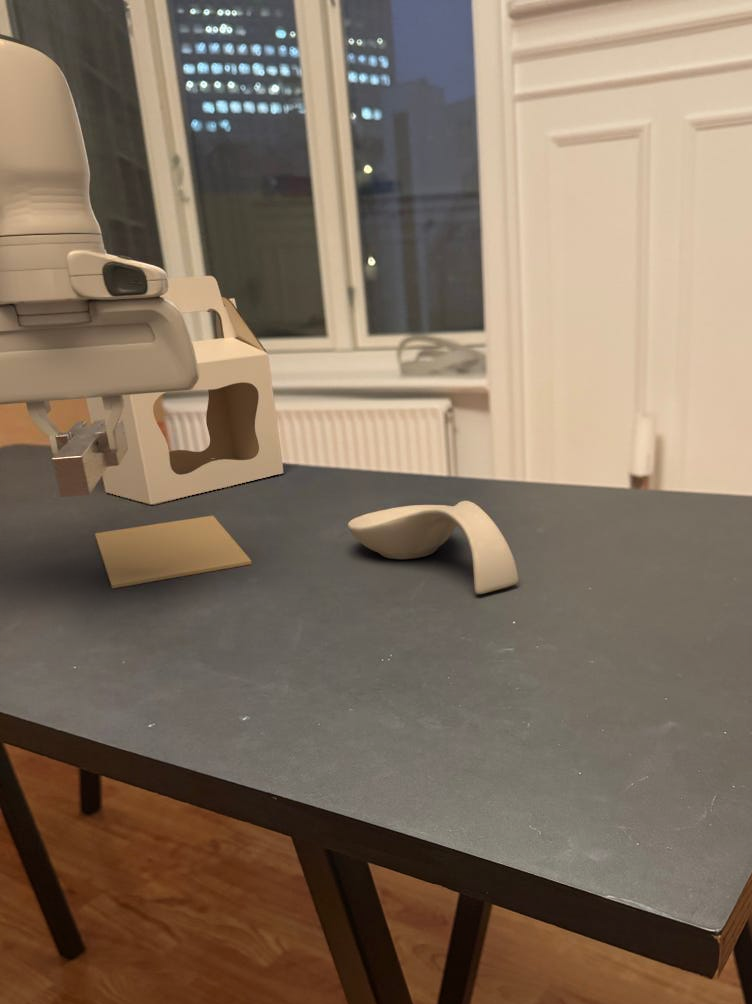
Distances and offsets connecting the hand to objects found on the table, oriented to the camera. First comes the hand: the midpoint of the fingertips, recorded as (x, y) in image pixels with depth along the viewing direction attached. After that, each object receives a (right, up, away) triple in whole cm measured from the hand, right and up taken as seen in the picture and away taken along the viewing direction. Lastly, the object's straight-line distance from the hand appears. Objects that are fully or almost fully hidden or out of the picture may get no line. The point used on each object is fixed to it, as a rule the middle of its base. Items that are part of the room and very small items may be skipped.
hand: (87, 453), depth 78 cm
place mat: (-2, -6, +26) cm, 27 cm away
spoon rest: (+29, -8, +17) cm, 34 cm away
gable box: (-8, +7, +57) cm, 58 cm away
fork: (0, -1, +2) cm, 2 cm away
